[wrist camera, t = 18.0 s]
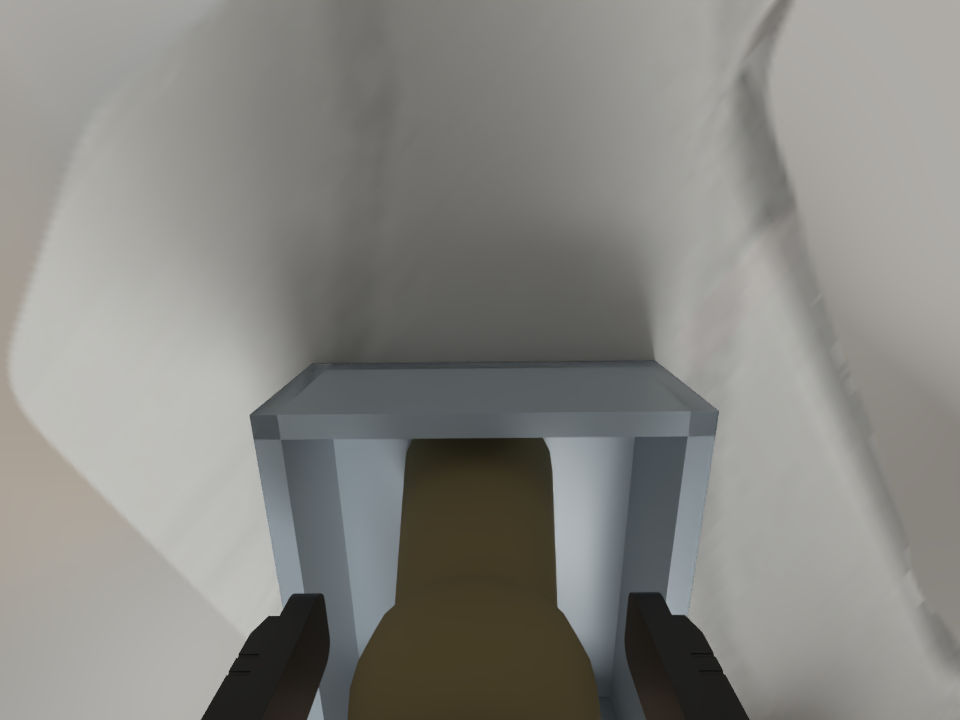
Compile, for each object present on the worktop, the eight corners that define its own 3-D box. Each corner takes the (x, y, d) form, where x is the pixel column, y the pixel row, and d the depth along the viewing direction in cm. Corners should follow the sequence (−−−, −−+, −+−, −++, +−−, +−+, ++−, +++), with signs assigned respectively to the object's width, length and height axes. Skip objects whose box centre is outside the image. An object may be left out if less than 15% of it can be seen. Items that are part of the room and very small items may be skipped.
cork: (381, 430, 18) (234, 727, 7) (527, 383, 17) (597, 633, 7) (434, 550, 19) (378, 934, 9) (569, 512, 19) (679, 875, 8)
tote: (620, 692, 23) (657, 816, 18) (353, 693, 23) (318, 817, 18) (655, 360, 18) (718, 410, 13) (311, 364, 18) (249, 414, 13)
